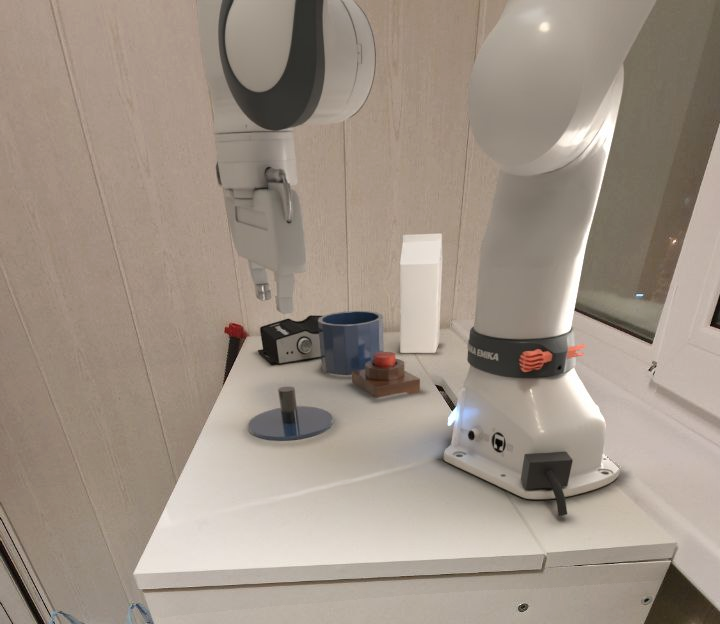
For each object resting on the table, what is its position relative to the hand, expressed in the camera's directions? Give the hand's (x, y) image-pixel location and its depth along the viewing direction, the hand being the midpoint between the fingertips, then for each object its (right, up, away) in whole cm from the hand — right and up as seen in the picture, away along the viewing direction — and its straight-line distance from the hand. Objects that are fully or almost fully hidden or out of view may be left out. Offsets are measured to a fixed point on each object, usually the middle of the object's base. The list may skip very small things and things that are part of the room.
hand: (274, 305), depth 73 cm
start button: (+15, +2, +20) cm, 25 cm away
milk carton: (+23, +15, +40) cm, 49 cm away
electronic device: (+1, +16, +42) cm, 45 cm away
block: (+16, -1, +22) cm, 27 cm away
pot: (+10, +7, +32) cm, 34 cm away
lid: (+1, -12, +10) cm, 15 cm away
